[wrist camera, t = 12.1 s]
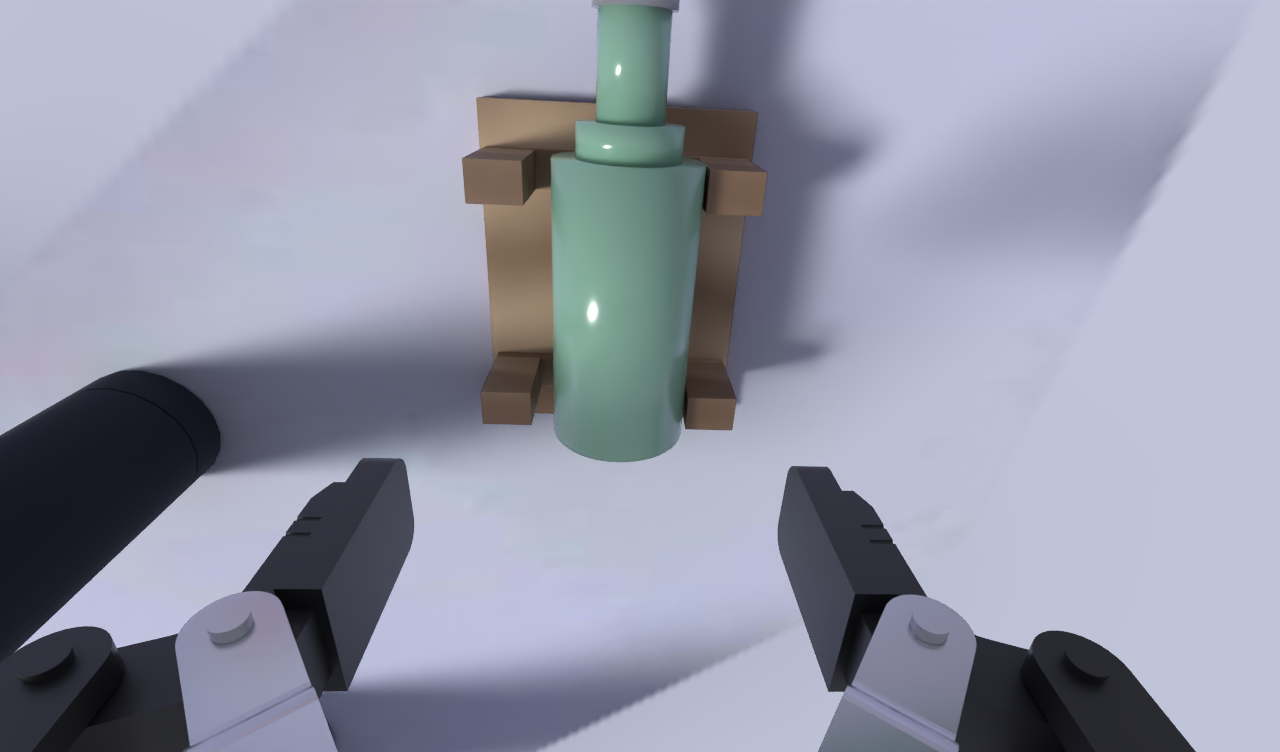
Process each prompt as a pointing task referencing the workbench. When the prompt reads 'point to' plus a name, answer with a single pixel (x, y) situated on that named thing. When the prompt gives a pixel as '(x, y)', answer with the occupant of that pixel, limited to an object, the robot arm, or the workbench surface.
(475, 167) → the u rest
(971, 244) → the workbench surface
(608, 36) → the green bottle
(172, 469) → the wine bottle
